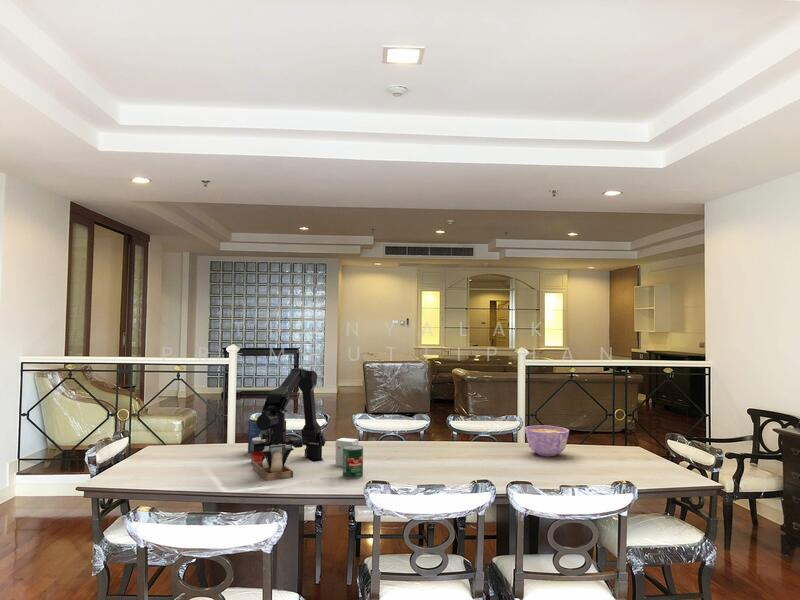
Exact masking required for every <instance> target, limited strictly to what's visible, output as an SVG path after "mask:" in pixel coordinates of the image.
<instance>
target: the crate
mask: <svg viewBox="0 0 800 600" xmlns="http://www.w3.org/2000/svg"><path fill="white" fill-rule="evenodd" d="M262 463H263V462H253V464H252V469H253V471H255V473H257V474H259V476H261V477H262V478H263V479H264V480H265V481H268V482H269V481H276V480H284V479H292V478H293V477H294V471H293V470H292V469H291V468H289V467H288V466H286V464H284V467H282V472H278V473H270V469H269V467H264V468H263V465H262Z"/></svg>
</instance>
